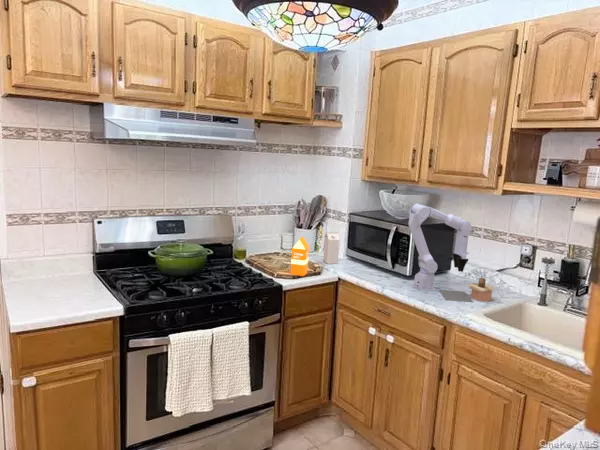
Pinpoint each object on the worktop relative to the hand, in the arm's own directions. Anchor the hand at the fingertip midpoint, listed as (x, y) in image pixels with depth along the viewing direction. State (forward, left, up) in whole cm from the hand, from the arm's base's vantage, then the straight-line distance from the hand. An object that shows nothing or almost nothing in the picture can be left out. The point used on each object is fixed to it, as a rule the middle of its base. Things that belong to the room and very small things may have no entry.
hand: (458, 269), depth 231 cm
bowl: (-1, -16, -10) cm, 19 cm away
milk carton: (-34, +67, -11) cm, 76 cm away
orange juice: (-64, +53, -11) cm, 84 cm away
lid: (-1, -16, -5) cm, 17 cm away
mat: (-11, -9, -10) cm, 18 cm away
